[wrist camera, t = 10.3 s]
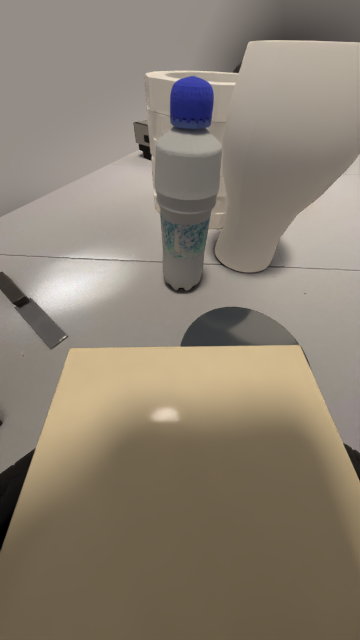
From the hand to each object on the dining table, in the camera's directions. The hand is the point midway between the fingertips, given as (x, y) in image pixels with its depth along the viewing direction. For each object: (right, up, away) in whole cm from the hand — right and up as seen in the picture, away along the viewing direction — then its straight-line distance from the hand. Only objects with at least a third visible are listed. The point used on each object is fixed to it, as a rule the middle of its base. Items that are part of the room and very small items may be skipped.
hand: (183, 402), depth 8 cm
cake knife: (-23, +6, +18) cm, 30 cm away
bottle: (0, +10, +21) cm, 24 cm away
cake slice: (0, -5, +5) cm, 7 cm away
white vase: (+12, +17, +26) cm, 33 cm away
